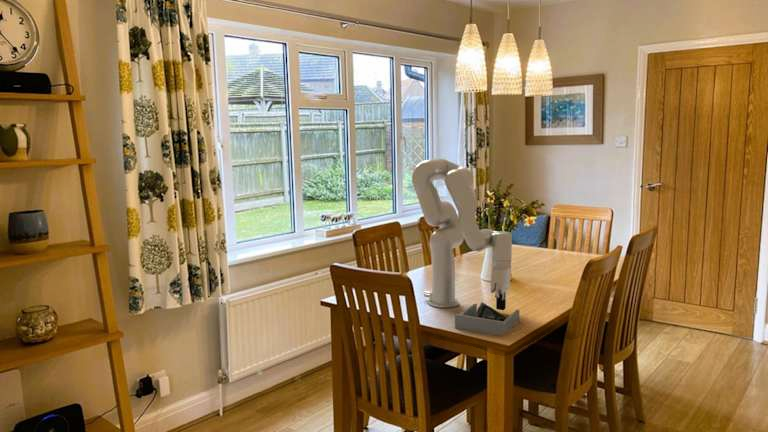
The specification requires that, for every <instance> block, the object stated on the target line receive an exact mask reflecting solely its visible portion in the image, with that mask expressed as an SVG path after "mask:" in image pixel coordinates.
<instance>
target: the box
mask: <svg viewBox="0 0 768 432" xmlns="http://www.w3.org/2000/svg"><path fill="white" fill-rule="evenodd" d="M477 309H478V303H473V304H471V305H470V306H469V307H467V308H466V309H465V310H463V311H461V312H460V313H459V314H458V313H455V314H454V329H458V330H464V331H470V332H476V333H477V332H478V333H482V334H489V335H493V336H494V335H495V336H500V337H503V336H504V335H505V334H507V332H509V331H510V330H511V329H512V328H513V327H514V326H515V325H516V324H517V323H518V322H519V321H520V309H516V310H515V311H513V312H512V313H511V314H510V315H509V316H508V317H507V319H506V320H505V321H497V320H491V319H485V318H486V317H482V318H478V317H476V312H477Z"/></svg>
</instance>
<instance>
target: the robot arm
mask: <svg viewBox="0 0 768 432" xmlns="http://www.w3.org/2000/svg"><path fill="white" fill-rule="evenodd" d="M435 180H442V181H444V184H445V186H446V189H447V191H448V193H449V195H450V197H451V199H452V201H453V204H454V205H455V207H454V205H452V203H450V202H449V201H446V200H442V199H441V198H440V195H439V191H438V189H437V188H436V186H435V185H434V183H433V181H435ZM411 182H412V186H413V188H414V192H415V194H416V196H417V199H418V202H419V205H420V208H421V212H422V214H423V217H424V220H425V222H426V223H427V224H428V225H429V226H431V227H438V226H439V228H438V229H436V230H434V231H433V233H431V235H430V237H429V247H430V249H429V250H430V254H431V291H428V290H424V292H423V296H424V298H429V299H428V305H429V306H431V307H434V308H442V309H446V308H454V307H457V306H458V305H459V304H460V301H459V300H458V299H457V298H456V259H455V255H454V249H455V248H458V247H459V246H461V244H463V242H464V240H465V243H466V245H467V247H469V249H471V250H472V251H474V252H482V251H484V250H487V249H490V248H491V268H492V270H491V277H490V293H491V294H493V293H495V294H494V298H495V299H496V302H495V305H496V306H495V310H498V311H499V310H500V311H505V309H506V307H507V306H506V301H507V300H506V299H507V291H509V290H510V289H511V288H510V287H511V269H512V254H513V253H512V249H513V247H512V244H513V242H512V241H513V239H512V238H513V236H512V232H509V231H503V230H499V231H498V230H493V229H489V228H483V229H482V228H481V229H480V228H479V225H478V223H477V220H476V219H477V217H476V211H477V208H478V202H479V201H478V199H477V198H476V196H475V195H476V194H475V193H474V191H473V190H472V189H473V188H472V187H471V186H472V185H473V183H474V175H473V173H472V171H470V169H468V168H467V167H464V166H461V165H459V164H456V163H454V162H453V161H450V160H447V159H445V158H431V159H425V160H423V161H420V162H419V163H418V164H416V166H415V167H414V169H413V171H412V176H411Z"/></svg>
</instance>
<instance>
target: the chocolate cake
mask: <svg viewBox="0 0 768 432" xmlns="http://www.w3.org/2000/svg"><path fill="white" fill-rule="evenodd" d="M475 317H478V318H485V319H491V320H497V321H505V320H506V319H507V318H508V317H507V316H506V315H504V314H502V313H501V312H499V311H497V309H494V308H493V307H491V306H489V305H487V304H486V303H484V302H482V301H481V302H480V305H479V306H478V307H477V312H476V315H475Z"/></svg>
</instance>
